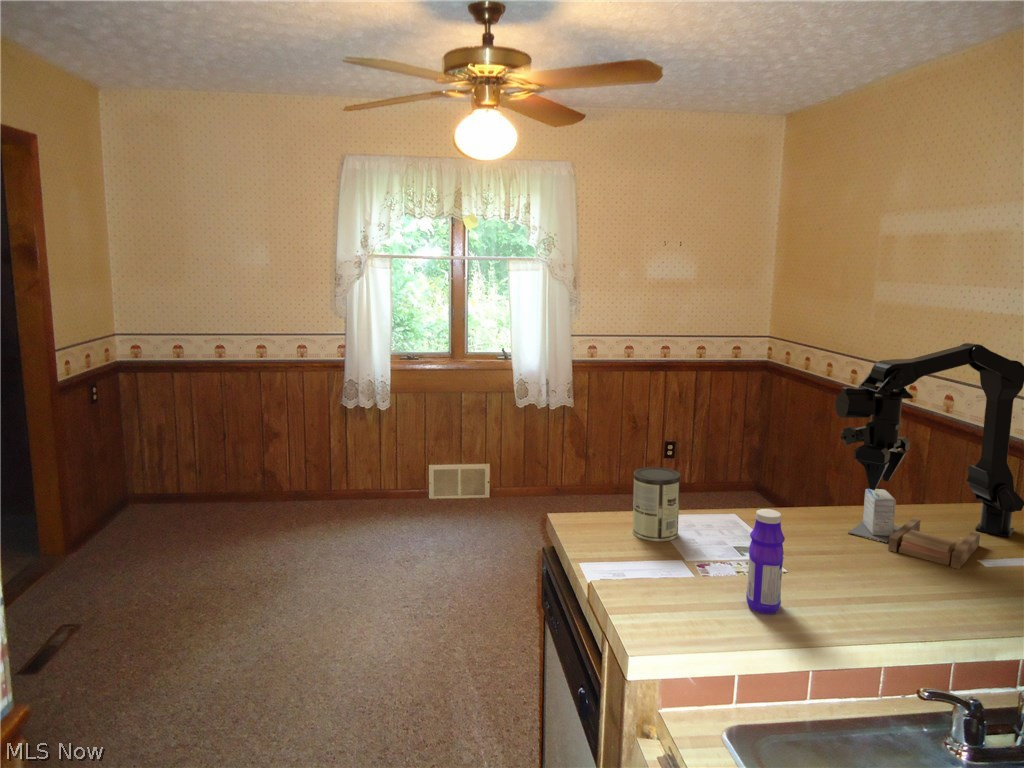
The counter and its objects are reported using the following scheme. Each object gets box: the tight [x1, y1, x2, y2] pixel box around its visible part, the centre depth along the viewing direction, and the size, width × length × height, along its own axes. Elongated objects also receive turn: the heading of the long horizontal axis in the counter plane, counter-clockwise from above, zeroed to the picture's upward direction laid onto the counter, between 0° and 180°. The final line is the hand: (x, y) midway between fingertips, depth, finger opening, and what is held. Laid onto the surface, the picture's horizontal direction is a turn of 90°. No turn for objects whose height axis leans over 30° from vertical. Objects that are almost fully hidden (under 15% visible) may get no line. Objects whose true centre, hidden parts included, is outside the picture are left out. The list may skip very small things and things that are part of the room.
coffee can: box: [632, 466, 682, 543], centre depth 153 cm, size 10×10×14 cm
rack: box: [887, 517, 981, 570], centre depth 146 cm, size 17×13×3 cm
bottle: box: [745, 508, 786, 615], centre depth 119 cm, size 7×6×17 cm
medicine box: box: [862, 488, 897, 536], centre depth 155 cm, size 8×4×9 cm, turn 167°
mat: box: [847, 521, 902, 544], centre depth 156 cm, size 12×8×1 cm, turn 135°
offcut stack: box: [898, 530, 957, 566], centre depth 142 cm, size 6×9×4 cm
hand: (879, 485), depth 154 cm, fingers open, 9 cm apart
